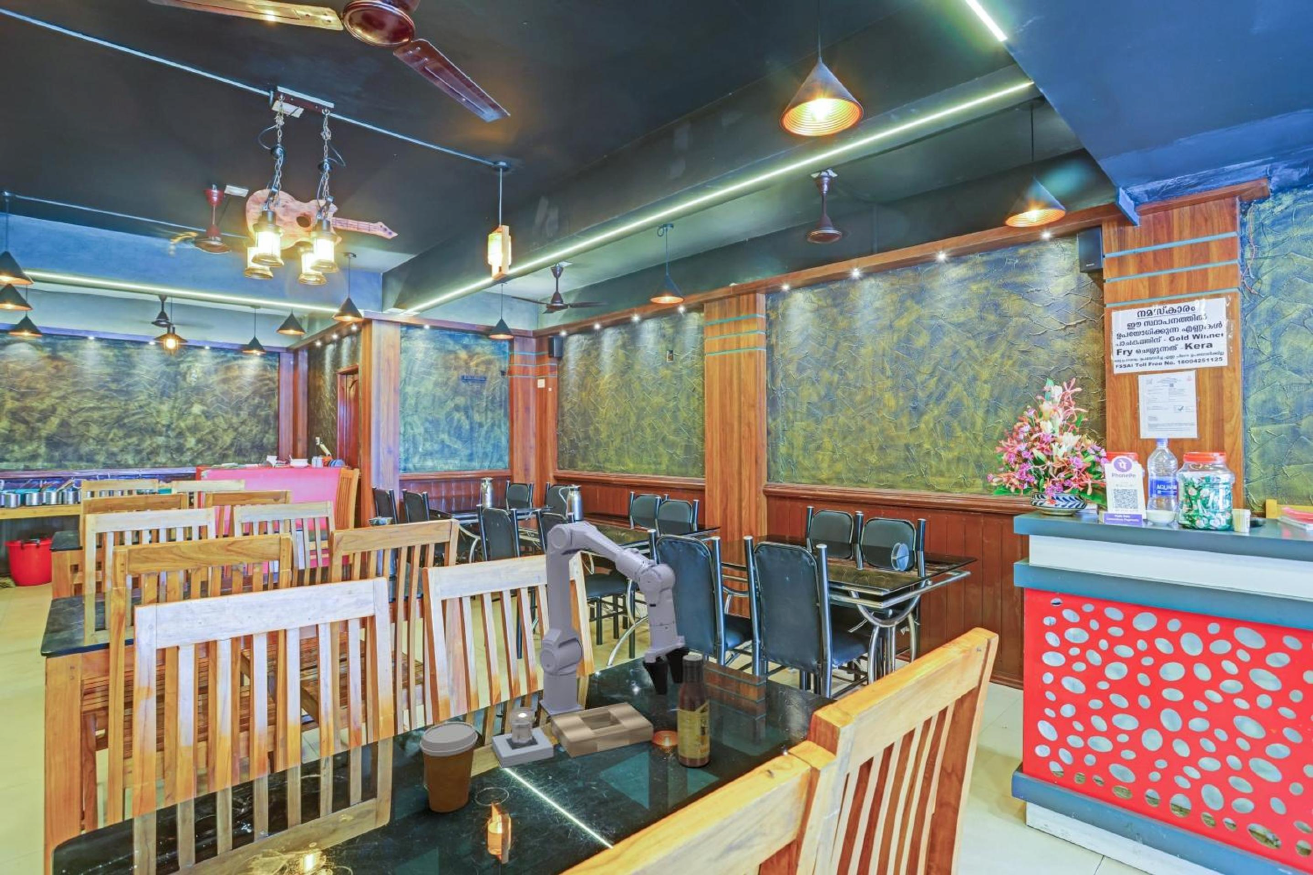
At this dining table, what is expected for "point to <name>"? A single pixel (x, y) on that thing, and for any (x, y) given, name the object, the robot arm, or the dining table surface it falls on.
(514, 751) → the frame
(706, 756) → the sauce bottle
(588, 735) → the dock
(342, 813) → the dining table surface
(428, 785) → the disposable coffee cup
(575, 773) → the dining table surface
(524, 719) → the steel pin
